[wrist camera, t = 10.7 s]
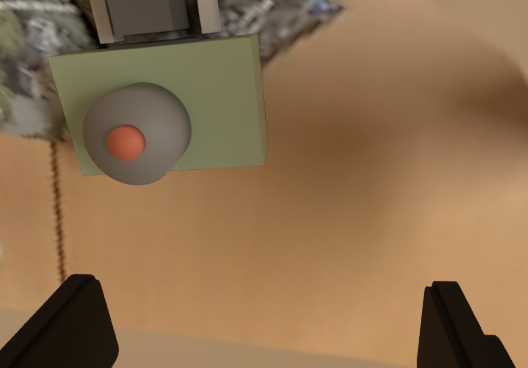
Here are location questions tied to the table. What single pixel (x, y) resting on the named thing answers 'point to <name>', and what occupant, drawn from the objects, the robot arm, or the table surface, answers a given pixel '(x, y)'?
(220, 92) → the green base with button
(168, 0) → the dark grey block
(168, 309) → the table surface
